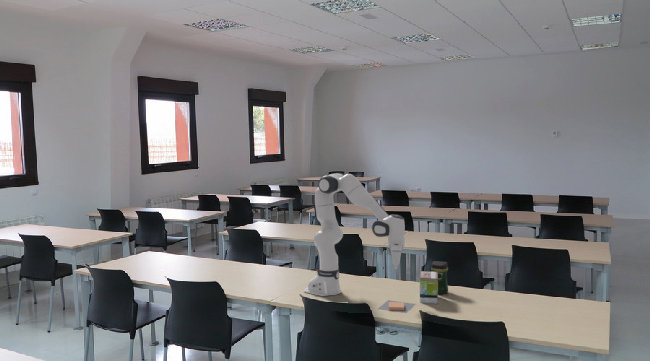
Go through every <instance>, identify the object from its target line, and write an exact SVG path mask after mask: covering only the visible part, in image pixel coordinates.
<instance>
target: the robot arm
mask: <svg viewBox="0 0 650 361" xmlns="http://www.w3.org/2000/svg"><path fill="white" fill-rule="evenodd" d="M339 192H343V193H344V194H345V196H346V198H347V199H348V200H349V202H351V204H353V205H354V206H356V207H361V208H364V209H367V210H369V211H370V212H371V213H372V214H373V215H374V216H375V217H376V219H377V220H375V221H374V222H373V223H372V225H371V231H372V233H373V234H374V236H376V237H378V238H383V237H384V238H385V237H386V238H387V247H388V248H389V251H390V252H391V254H390V255H391V261H392V265H393V270H396V271H397V270H398V267H399V265H400V263H401V262H400V261H401V255H402V251H403V249H404V248H405V230H406V228H405V227H406V225H405V218H404V217H403V216H402V215H400V214H394V213H392V214H389V213H388V212H387V211H386V210H385V209H384V208H383V206H382V205H381V204H380V203H379V202H378V201H377V200H376V199H375V198H374V197H373V195H371V194H370V192H369V191H368V190H367V189H366V188H365V186H364V185H363V184H362V182H360V181H359V179H358V178H357V177H356V176H355V175H354V174H351V173H346V174H344V173H341V172H336V173H331V174H327V175H324V176H322V177H320V178H319V180H318V182H317V188H316V189H315V191H314V204H315V214H316V215H315V216H316V219H317V221H318V223H320V226H321V229H320V230H319V231H317V232H316V233H315V235H314V236H313V243H314V245H315V247H316V248H317V252H318V256H319V268H318V269H316V270H315V273H317V274H315V276H314V277H312V278H311V279H310V280H309V281H308V284H307V287H305V288H304V290H303V292H304V293H305V294H311V295H316V296H320V297H327V296H336V295H339V294H341V293H342V289H341V284H340V269H339V256H338V254H337V251H336V248H335V245H336V244H338V243H339V242H340V241H341V240H342V239H343V237H344V232H343V229H341V227H340V226H339V222H338V220H337V217H336V210H335V204H334V203H335V202H334V195H335V194H338V193H339Z"/></svg>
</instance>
